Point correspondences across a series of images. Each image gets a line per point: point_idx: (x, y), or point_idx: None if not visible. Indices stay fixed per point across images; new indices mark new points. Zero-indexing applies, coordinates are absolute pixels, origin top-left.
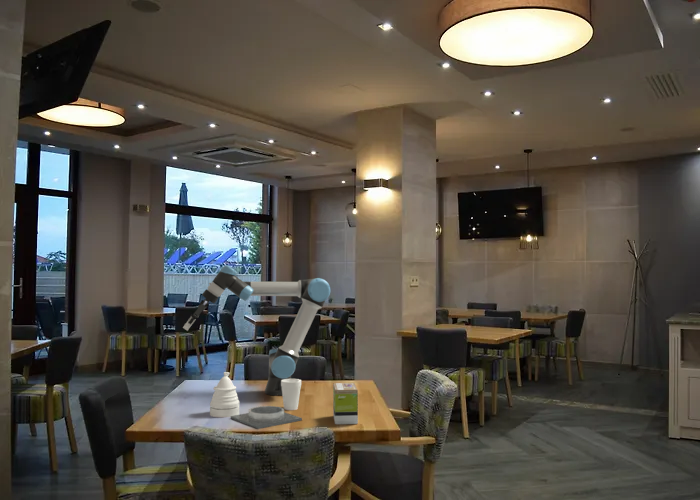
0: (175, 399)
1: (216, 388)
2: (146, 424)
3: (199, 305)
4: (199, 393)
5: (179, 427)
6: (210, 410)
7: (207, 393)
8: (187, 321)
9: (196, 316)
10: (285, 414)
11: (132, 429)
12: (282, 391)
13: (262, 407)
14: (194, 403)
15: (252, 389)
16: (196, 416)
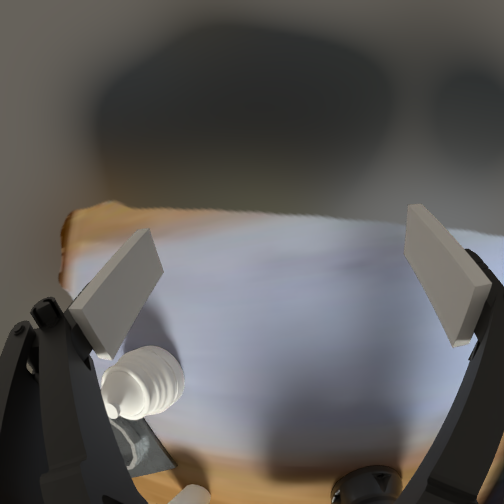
0: (332, 240)
1: (106, 371)
2: (98, 224)
3: (49, 492)
4: (407, 298)
5: (76, 288)
6: (138, 348)
7: (404, 322)
8: (104, 267)
9: (31, 365)
10: (133, 470)
11: (78, 210)
12: (176, 501)
13: (131, 445)
14: (272, 302)
15: (428, 431)
16: (138, 316)
